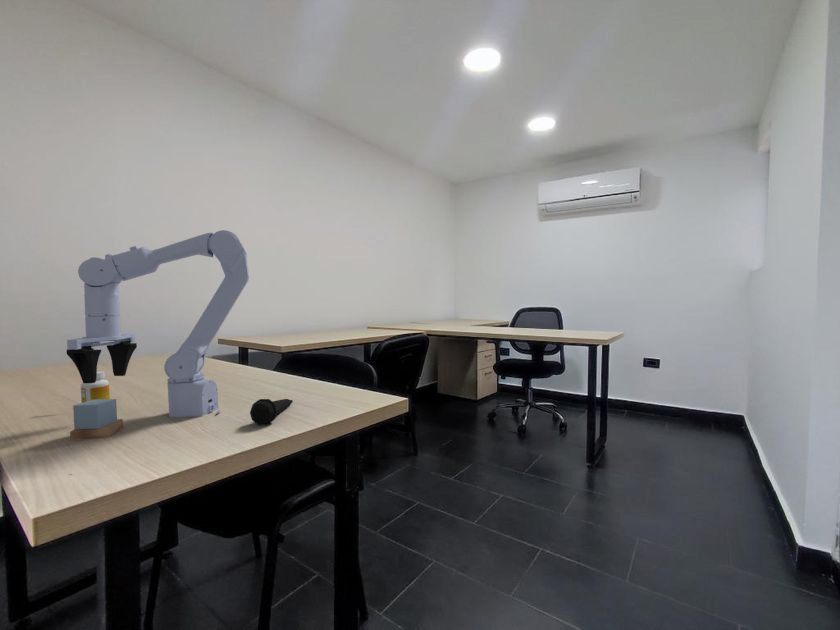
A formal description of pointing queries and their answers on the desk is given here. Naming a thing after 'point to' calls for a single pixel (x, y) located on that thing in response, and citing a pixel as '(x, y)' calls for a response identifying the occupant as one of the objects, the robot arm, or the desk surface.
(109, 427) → the tower mid
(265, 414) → the microphone
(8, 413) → the desk surface
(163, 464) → the desk surface
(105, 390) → the supplement bottle
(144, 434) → the desk surface
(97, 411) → the cube
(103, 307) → the robot arm
